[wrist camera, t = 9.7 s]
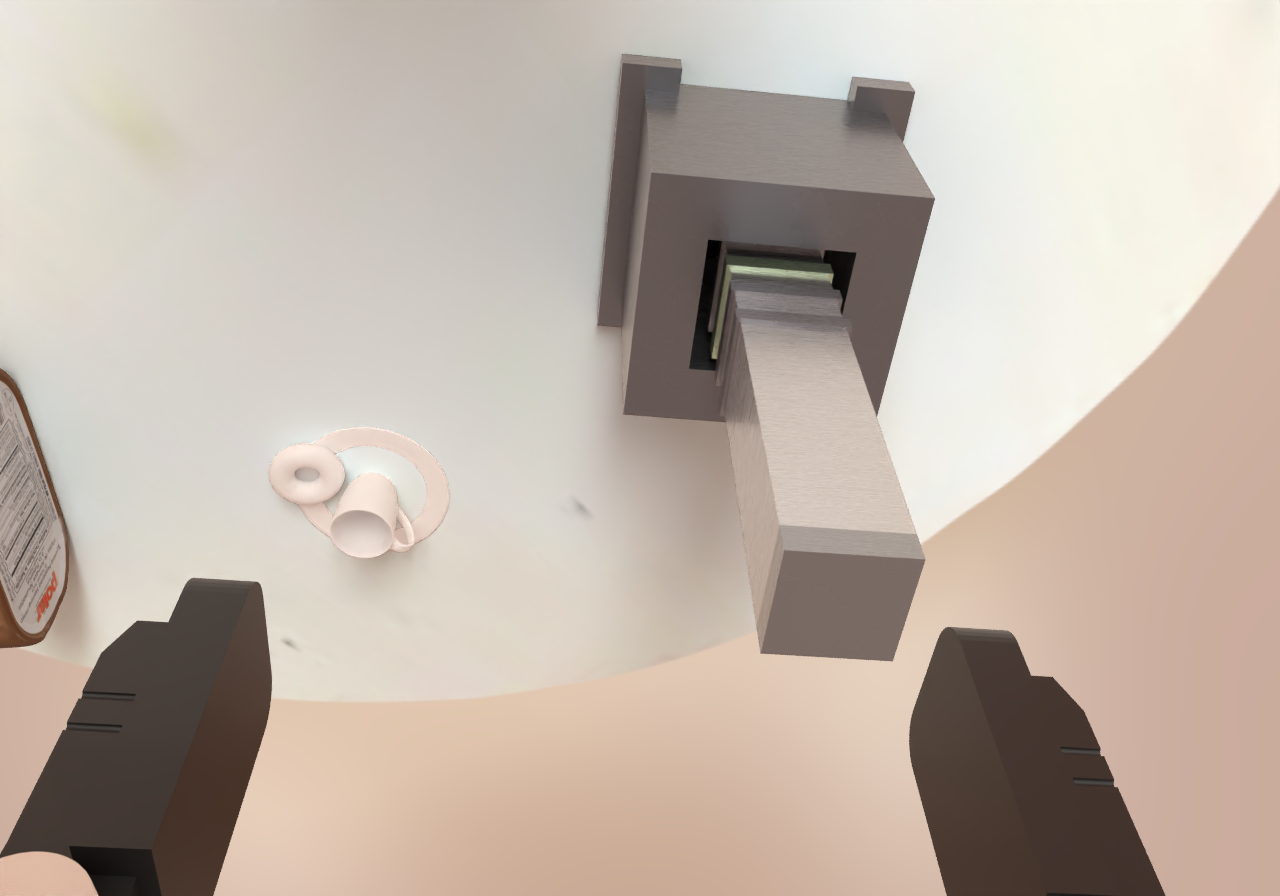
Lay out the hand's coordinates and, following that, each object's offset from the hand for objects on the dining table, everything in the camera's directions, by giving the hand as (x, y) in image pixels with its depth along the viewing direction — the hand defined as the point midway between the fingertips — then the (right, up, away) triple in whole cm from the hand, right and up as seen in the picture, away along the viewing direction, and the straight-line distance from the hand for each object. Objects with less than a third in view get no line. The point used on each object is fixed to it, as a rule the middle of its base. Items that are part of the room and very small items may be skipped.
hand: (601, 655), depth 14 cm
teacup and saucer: (-13, +3, +45) cm, 47 cm away
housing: (+5, +13, +37) cm, 40 cm away
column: (+5, +9, +32) cm, 34 cm away
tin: (-30, +2, +45) cm, 54 cm away
